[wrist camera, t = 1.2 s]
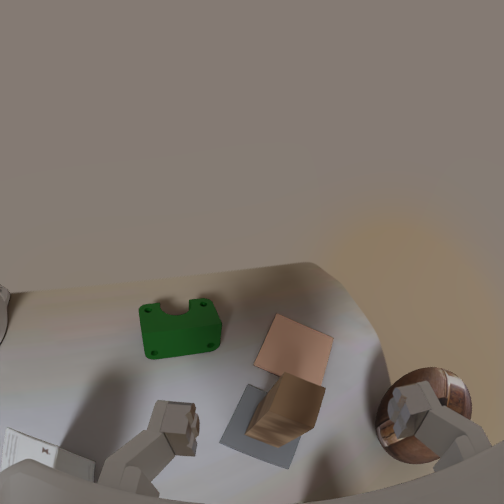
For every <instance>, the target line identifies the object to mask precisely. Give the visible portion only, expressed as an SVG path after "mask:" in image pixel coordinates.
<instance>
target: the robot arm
mask: <svg viewBox="0 0 504 504" xmlns="http://www.w3.org/2000/svg"><path fill="white" fill-rule="evenodd" d="M0 292H1V293H0V343H1V341H2V339H3V337H4V334H5V331H6V327H7V319H8V318H7V305H8V302H9V299H10V292H9V291H8V290H7V289H6V288H5V287H3V286H2V285H0ZM392 394H393V396H394V397H393V398H392V399H390V401H389V404H388V415H389V418H390V420H391V421H392V422H394V423H395V424H394V427H393V429H394V432H395V434H396V437H397V439H401V438H405V437H409V436H413V435H415V437H416V438H417V439H419V440H420V441H421V442H422V443H423V444H425V445H426V446H427V447H428V448H429V449H431V450H432V451H433V452H434V453H435V454H437V455H438V456H439V457H440V460H439V461H438V462H437V463H436V464H435V466H434V467H433V469H434V471H435V472H434V473H432V474H429V475H426V476H423V477H420V478H417V479H414V480H411V481H408V482H405V483H401V484H398V485H395V486H391V487H387V488H384V489H380V490H376V491H371V492H367V493H362V494H358V495H353V496H348V497H342V498H336V499H330V500H323V501H315V502H306V503H296V504H504V440H503V441H501V442H500V443H498V444H496V445H494V446H492V445H491V443H490V442H489V440H488V438H487V436H486V434H485V432H484V430H483V429H482V427H481V426H479V425H478V424H476V423H474V422H472V421H471V420H469V419H467V418H465V417H464V416H462V415H460V414H458V413H457V412H455V411H453V410H451V409H450V408H448V407H446V406H442V405H441V404H440V402H439V400H438V398H437V396H436V394H435V393H434V391H433V389H432V387H431V386H430V384H429V382H428V381H422V382H418V383H413V384H409V385H405V386H400V387H396V388H395V389H394V391H393V393H392ZM195 410H196V407H195V404H194V403H184V402H173V401H162V400H157V402H156V403H155V406H154V409H153V412H152V415H151V419H150V422H149V425H148V428H147V430H143V431H142V432H141V433H139V434H138V435H137V436H135V437H134V438H133V439H132V440H130V441H129V442H128V443H127V444H125V445H124V446H123V447H121V448H120V449H119V450H117V451H116V452H115V453H113V454H112V455H111V456H109V457H108V458H107V459H106V460H105V463H104V465H103V468H102V471H101V474H100V477H99V479H98V482H97V483H94V482H91V481H87V480H84V479H81V478H78V477H76V476H73V475H70V474H67V473H64V472H62V471H59V470H57V469H54V468H52V467H49V466H47V465H45V464H42V463H40V462H38V461H36V460H33V459H25V460H22V461H20V462H17V463H15V464H13V465H11V466H10V467H8V468H6V469H4V470H3V471H2V472H1V473H0V504H203V503H192V502H183V501H176V500H169V499H162V498H159V494H160V493H159V492H158V490H157V489H156V488H155V487H154V486H153V484H152V483H151V481H152V480H153V479H154V478H155V477H156V476H157V475H158V474H159V473H160V472H161V471H162V470H163V469H164V468H165V467H166V466H167V464H168V463H169V462H170V461H171V460H172V459H173V458H174V457H175V455H180V456H195V454H196V448H197V442H196V439H195V438H196V437H197V436H198V435H199V424H200V423H199V417H198V414H196V413H195Z"/></svg>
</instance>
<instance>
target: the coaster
mask: <svg viewBox="0 0 504 504" xmlns="http://www.w3.org/2000/svg"><path fill="white" fill-rule="evenodd" d="M333 339H334V338H332V337H330V336H328V335H325V334H323V333H321V332H318V331H316V330H314V329H311V328H309V327H307V326H304V325H302V324H300V323H298V322H295V321H293V320H291V319H289V318H286V317H284V316H282V315H280V314H276V316H275V318H274V321H273V323H272V325H271V327H270V330H269V332H268V334H267V336H266V338H265V341H264V343H263V345H262V347H261V349H260V352H259V354H258V356H257V358H256V360H255V362H254V366H257V367H259V368H261V369H263V370H266V371H268V372H270V373H273V374H275V375H277V376H280V377H281V376H282V374H283V373H284V372H287V373H289V374H292V375H294V376H296V377H299V378H301V379H304V380H306V381H309V382H311V383H314V384H316V385H319V386H321V383H322V380H323V376H324V373H325V369H326V366H327V362H328V358H329V354H330V351H331V347H332V343H333Z"/></svg>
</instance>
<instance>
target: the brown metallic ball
mask: <svg viewBox="0 0 504 504" xmlns="http://www.w3.org/2000/svg"><path fill="white" fill-rule="evenodd" d="M422 381H428V382H429V384H430V386H431V387H432V389H433V391H434V393H435V394H436V396H437V398H438V400H439V402H440V404H441V405H442V406H446V407H448V408H450V409H451V410H453V411H455V412H457V413H458V414H460V415H462V416H464V417H465V418H467V419H469V420H470V419H471V413H472V403H471V397H470V393H469V391H468V389H467V387H466V385H465V384H464V382H463V381H462V380H461V379H460V378H459V377H458V376H457V375H455V374H454V373H452V372H450V371H448V370H445V369H442V368H436V367H430V368H429V367H428V368H422V369H418V370H415V371H412V372H410V373H408V374H406V375H404V376H403V377H402V378H400V379H399V380H398V381H396V382H395V383H394V384H393V385H392V386H391V387H390V388H389V390H388V391H387V392H386V394H385V395H384V397H383V399H382V401H381V403H380V405H379V408H378V412H377V416H376V431H377V436H378V439H379V441H380V443H381V445H382V447H383V448H384V450H385V451H386V452H387V453H388V454H389V455H390V456H392V457H393V458H395V459H397V460H399V461H401V462H404V463H409V464H423V463H428V462H431V461H434V460H437V459H439V458H440V457H439V456H438V455H437V454H435V453H434V452H433V451H432V450H431V449H429V448H428V447H427V446H426V445H425V444H423V443H422V442H421V441H420V440H419V439H417V438H416V437H415V435H413V436H409V437H405V438H401V439H397V437H396V434H395V432H394V429H393V427H394V424H395V423H394V422H392V421H391V420H390V418H389V415H388V404H389V401H390V399H392V398H393V397H394V396H393V394H392V393H393V391H394V389H395V388H396V387H400V386H405V385H409V384H413V383H418V382H422Z"/></svg>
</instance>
